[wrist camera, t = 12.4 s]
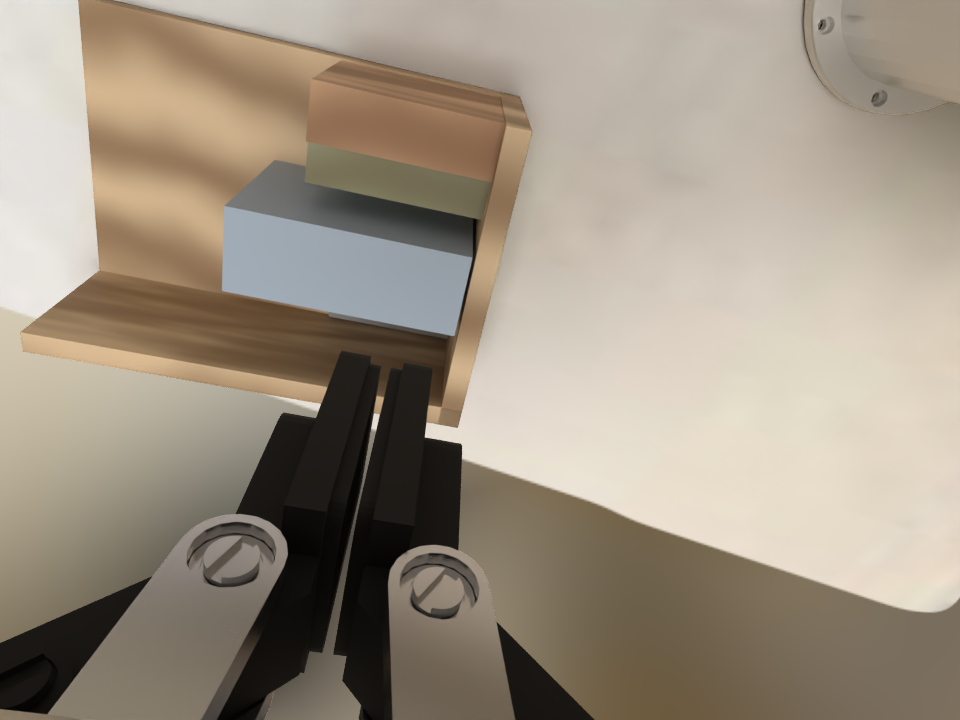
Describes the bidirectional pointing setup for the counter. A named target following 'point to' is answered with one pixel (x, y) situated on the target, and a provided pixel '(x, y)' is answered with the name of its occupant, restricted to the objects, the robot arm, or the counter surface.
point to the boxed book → (345, 252)
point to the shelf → (233, 165)
